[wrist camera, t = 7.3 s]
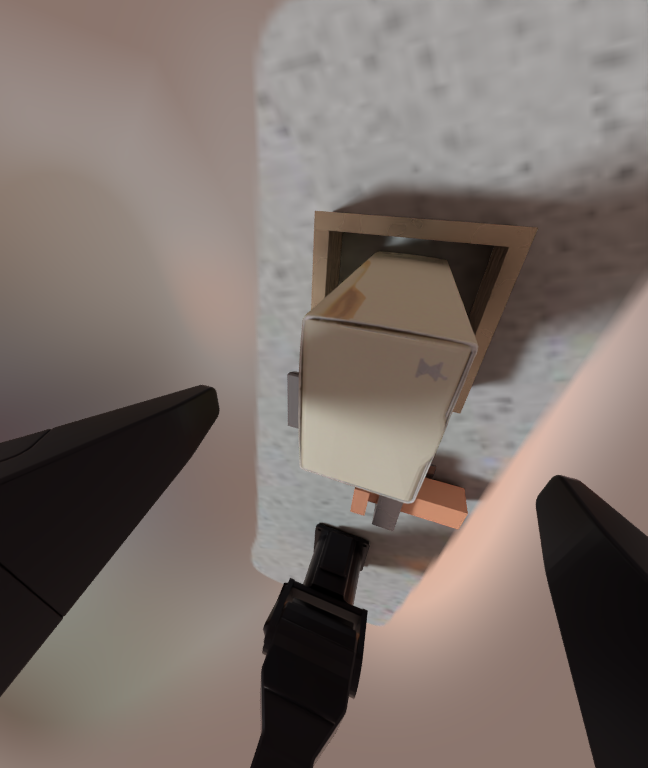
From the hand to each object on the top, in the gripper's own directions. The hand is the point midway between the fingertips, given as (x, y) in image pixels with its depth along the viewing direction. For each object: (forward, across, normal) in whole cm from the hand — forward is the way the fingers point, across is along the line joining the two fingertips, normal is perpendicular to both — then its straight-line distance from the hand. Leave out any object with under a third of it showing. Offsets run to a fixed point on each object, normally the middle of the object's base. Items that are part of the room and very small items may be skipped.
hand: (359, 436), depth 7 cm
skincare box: (+13, 0, 0) cm, 13 cm away
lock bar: (+13, -3, +15) cm, 20 cm away
